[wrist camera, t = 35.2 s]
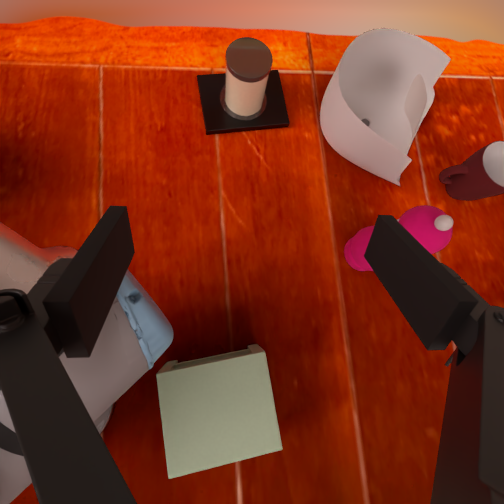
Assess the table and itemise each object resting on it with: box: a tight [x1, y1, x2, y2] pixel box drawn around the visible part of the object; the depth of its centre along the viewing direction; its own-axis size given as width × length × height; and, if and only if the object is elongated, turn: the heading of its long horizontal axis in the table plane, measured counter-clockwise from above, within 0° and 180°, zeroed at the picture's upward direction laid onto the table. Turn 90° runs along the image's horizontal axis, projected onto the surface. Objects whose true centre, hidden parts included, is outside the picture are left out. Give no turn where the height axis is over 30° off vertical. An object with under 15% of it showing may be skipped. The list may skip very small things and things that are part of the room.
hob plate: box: [197, 70, 289, 135], centre depth 53 cm, size 15×11×1 cm
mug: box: [439, 141, 504, 200], centre depth 51 cm, size 10×8×10 cm
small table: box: [156, 344, 282, 479], centre depth 40 cm, size 14×12×8 cm
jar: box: [225, 37, 272, 116], centre depth 48 cm, size 7×7×9 cm
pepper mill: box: [344, 206, 453, 271], centre depth 41 cm, size 7×7×20 cm
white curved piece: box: [320, 28, 451, 186], centre depth 50 cm, size 20×19×12 cm
